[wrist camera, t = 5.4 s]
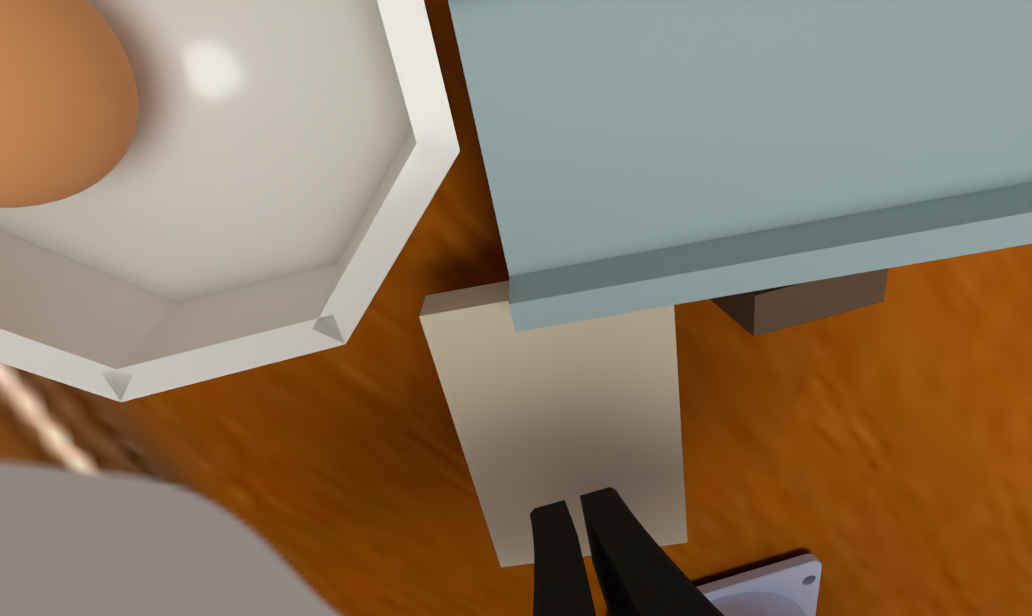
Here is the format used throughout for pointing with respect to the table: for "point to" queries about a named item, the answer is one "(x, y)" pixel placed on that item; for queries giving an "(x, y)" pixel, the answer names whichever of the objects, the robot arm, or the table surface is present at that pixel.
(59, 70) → the ball
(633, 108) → the lever
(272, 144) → the bowl
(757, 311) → the stand
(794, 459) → the table surface
